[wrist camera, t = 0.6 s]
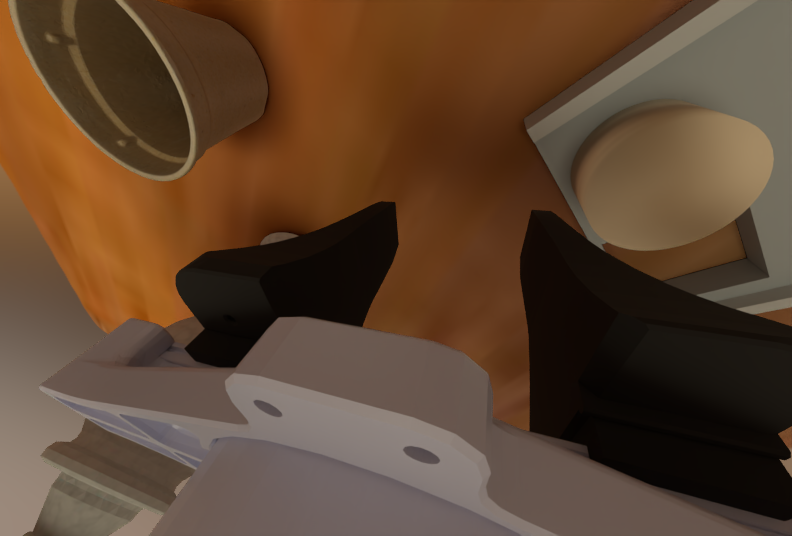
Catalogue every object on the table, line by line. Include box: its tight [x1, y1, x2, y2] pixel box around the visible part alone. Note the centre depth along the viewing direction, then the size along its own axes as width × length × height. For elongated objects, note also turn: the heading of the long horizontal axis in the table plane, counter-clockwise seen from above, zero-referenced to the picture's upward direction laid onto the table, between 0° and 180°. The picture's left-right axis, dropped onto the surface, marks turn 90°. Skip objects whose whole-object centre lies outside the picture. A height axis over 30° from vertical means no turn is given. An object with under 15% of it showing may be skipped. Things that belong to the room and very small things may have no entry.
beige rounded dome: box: [570, 99, 774, 251], centre depth 14 cm, size 6×6×4 cm
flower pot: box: [8, 0, 268, 181], centre depth 17 cm, size 9×9×9 cm
